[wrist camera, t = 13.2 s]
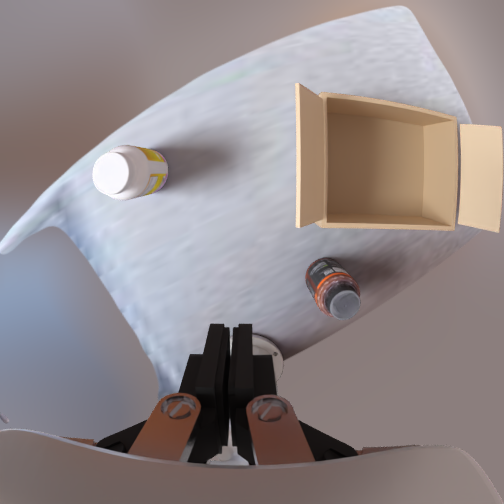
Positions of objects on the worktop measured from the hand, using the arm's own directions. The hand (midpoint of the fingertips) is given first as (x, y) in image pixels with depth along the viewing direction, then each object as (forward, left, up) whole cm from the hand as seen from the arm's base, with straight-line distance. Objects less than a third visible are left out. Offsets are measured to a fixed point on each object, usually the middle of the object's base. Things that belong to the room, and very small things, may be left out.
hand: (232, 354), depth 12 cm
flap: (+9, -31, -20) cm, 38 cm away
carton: (+9, -19, -32) cm, 38 cm away
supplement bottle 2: (-8, -12, -32) cm, 35 cm away
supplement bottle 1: (+8, +14, -32) cm, 36 cm away
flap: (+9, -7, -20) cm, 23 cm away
